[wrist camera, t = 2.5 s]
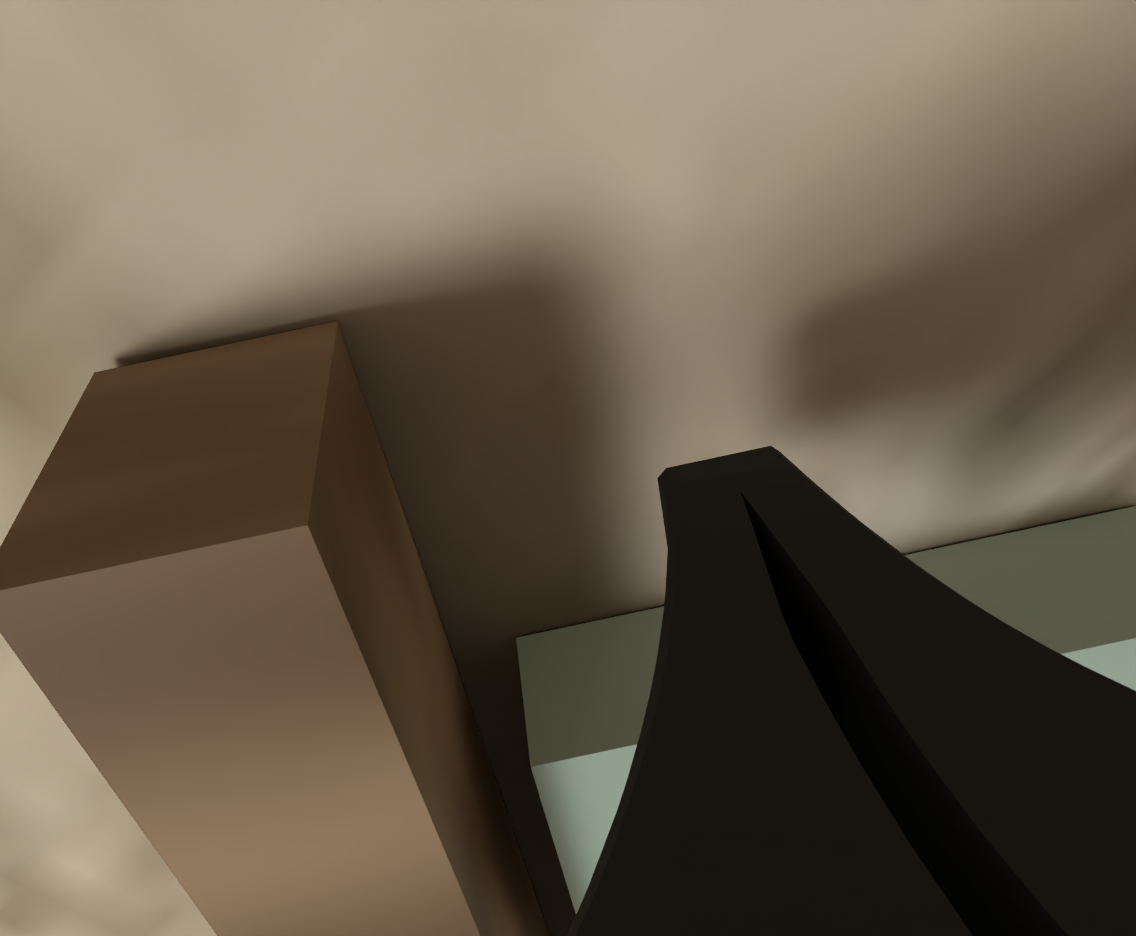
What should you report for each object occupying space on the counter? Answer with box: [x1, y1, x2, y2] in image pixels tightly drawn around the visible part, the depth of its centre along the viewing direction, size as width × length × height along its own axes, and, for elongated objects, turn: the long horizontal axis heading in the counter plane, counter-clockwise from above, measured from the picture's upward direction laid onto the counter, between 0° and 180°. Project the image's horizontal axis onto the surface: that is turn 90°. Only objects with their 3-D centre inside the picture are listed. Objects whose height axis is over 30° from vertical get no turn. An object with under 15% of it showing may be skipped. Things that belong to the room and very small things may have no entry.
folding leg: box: [0, 321, 549, 936], centre depth 15 cm, size 17×3×4 cm, turn 10°
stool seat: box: [516, 506, 1136, 914], centre depth 18 cm, size 10×10×2 cm
